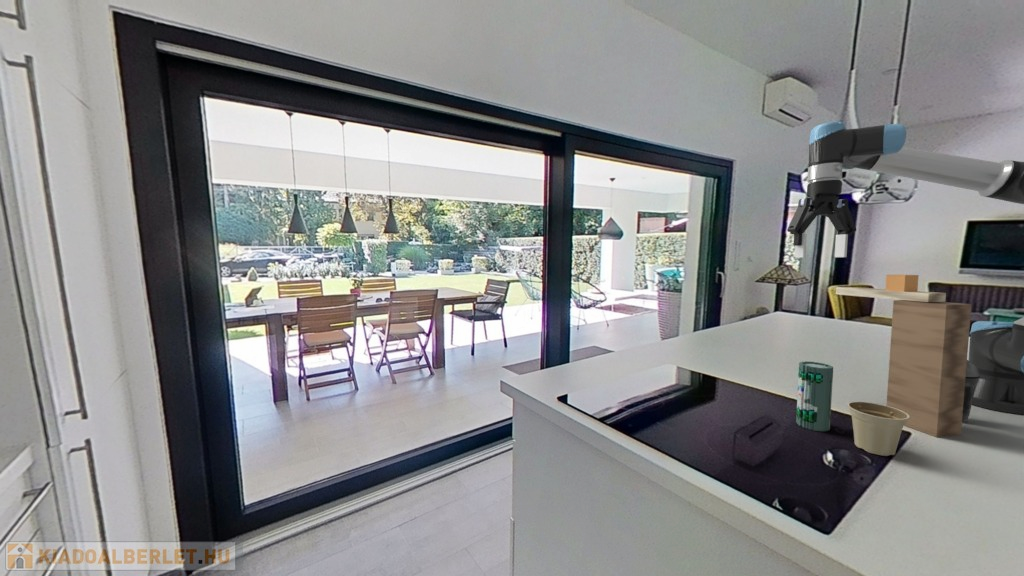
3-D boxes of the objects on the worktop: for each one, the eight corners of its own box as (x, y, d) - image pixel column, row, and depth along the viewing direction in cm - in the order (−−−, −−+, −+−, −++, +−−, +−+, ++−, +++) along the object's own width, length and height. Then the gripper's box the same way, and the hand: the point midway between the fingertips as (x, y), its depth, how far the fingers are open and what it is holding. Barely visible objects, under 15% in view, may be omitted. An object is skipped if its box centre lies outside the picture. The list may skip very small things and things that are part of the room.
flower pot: (920, 463, 74) (923, 420, 73) (864, 458, 76) (867, 417, 75) (883, 440, 83) (886, 402, 82) (834, 437, 85) (836, 400, 84)
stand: (908, 416, 96) (916, 299, 93) (960, 434, 86) (971, 304, 84) (885, 418, 94) (893, 300, 92) (936, 437, 85) (946, 305, 82)
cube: (898, 290, 96) (899, 274, 96) (917, 291, 92) (918, 275, 92) (885, 290, 95) (886, 274, 95) (904, 291, 91) (905, 275, 91)
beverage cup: (943, 422, 92) (949, 342, 91) (924, 411, 99) (929, 336, 97) (985, 427, 89) (991, 344, 88) (962, 415, 96) (968, 338, 95)
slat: (850, 293, 108) (850, 286, 108) (945, 301, 87) (945, 293, 87) (835, 294, 107) (836, 287, 107) (928, 302, 86) (928, 293, 86)
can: (792, 419, 95) (795, 360, 94) (820, 421, 93) (824, 362, 92) (803, 429, 89) (807, 367, 88) (834, 432, 87) (838, 369, 86)
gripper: (798, 177, 99) (794, 257, 101) (876, 179, 103) (871, 257, 105) (774, 183, 107) (771, 257, 108) (847, 185, 111) (843, 257, 112)
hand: (820, 257), depth 107 cm, fingers open, 13 cm apart
